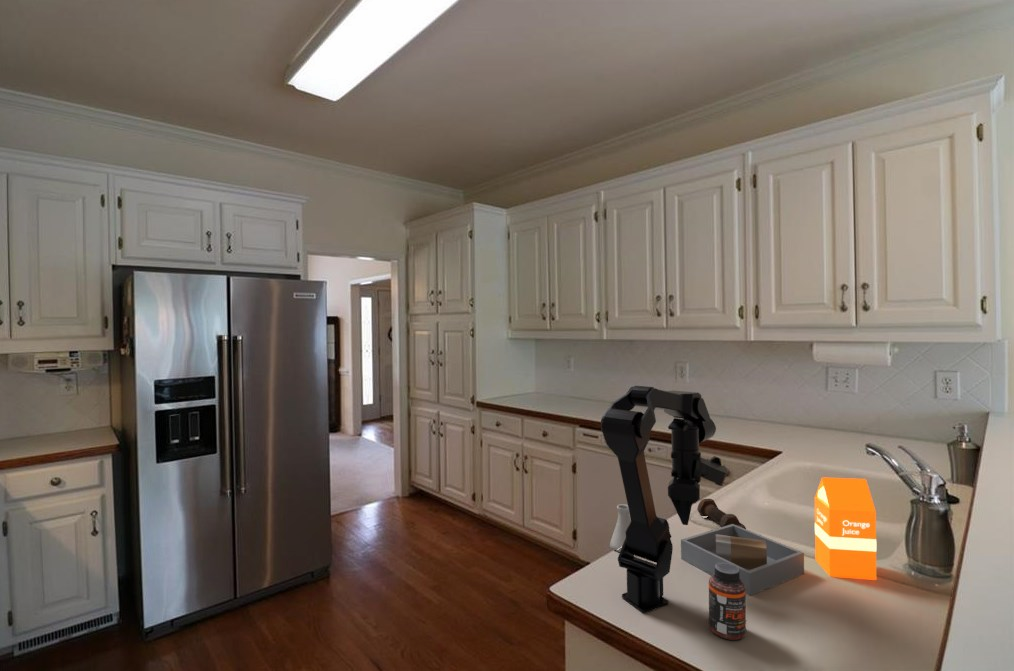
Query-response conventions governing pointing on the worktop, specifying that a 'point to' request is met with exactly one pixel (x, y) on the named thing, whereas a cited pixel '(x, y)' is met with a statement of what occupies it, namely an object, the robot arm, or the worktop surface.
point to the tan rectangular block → (742, 551)
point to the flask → (620, 527)
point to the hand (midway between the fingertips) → (686, 516)
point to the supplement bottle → (727, 602)
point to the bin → (777, 570)
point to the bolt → (717, 513)
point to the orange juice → (845, 528)
